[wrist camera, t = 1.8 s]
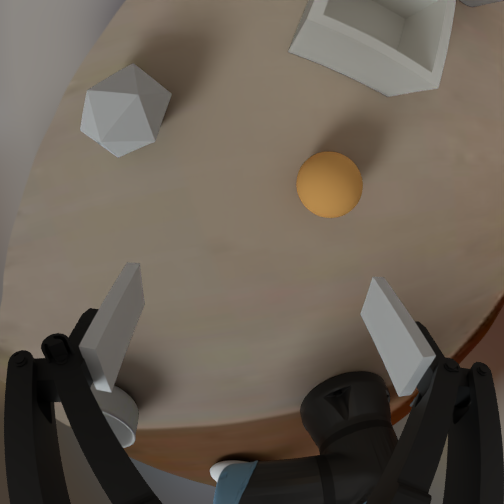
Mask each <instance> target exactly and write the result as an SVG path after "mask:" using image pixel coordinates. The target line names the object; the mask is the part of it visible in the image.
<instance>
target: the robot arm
mask: <svg viewBox="0 0 504 504" xmlns="http://www.w3.org/2000/svg"><path fill="white" fill-rule="evenodd" d="M144 305H145V301H144V294H143V286H142V277H141V268H140V263H128V262H127V264H126V265H125V267H124V268H123V270H122V271H121V273H120V275H119V276H118V278H117V280H116V281H115V283H114V285H113V286H112V288H111V290H110V291H109V293H108V295H107V296H106V298H105V300H104V301H103V303H102V305H101V307H100V308H99V309H92V308H90V309H88V310H87V311H86V312H85V313H83V314H82V316H81V317H80V319H79V321H78V323H77V324H76V326H75V329H73V331H72V333H71V334H70V336H69V338H68V337H67V336H66V335H64V334H59V333H57V334H52V335H50V336H48V337H47V338H46V339H44V340H43V342H42V345H41V349H42V352H43V354H44V356H45V358H39V359H34V358H33V356H32V354H31V353H30V352H28V351H24V350H21V351H18V352H16V353H14V354H13V355H12V356H11V357H10V359H9V362H8V369H7V379H6V391H5V412H4V442H5V443H4V444H5V462H6V474H7V484H8V491H9V498H10V504H71V503H70V499H69V495H68V491H67V486H66V482H65V477H64V472H63V467H62V462H61V456H60V450H59V443H58V437H57V429H56V419H55V409H54V402H61V403H62V405H63V408H64V410H65V413H66V415H67V418H68V420H69V422H70V425H71V427H72V429H73V431H74V434H75V436H76V438H77V440H78V442H79V445H80V447H81V449H82V451H83V453H84V455H85V457H86V459H87V461H88V463H89V464H90V466H91V468H92V470H93V472H94V474H95V476H96V477H97V479H98V481H99V483H100V484H101V486H102V488H103V489H104V491H105V493H106V494H107V496H108V498H109V499H110V501H111V502H112V504H162V503H161V501H160V500H159V499H158V497H157V496H156V495H155V494H154V492H153V491H152V490H151V488H150V487H149V486H148V484H147V483H146V482H145V480H144V479H143V477H142V476H141V474H140V473H139V472H138V470H137V469H136V467H135V466H134V464H133V463H132V462H131V460H130V458H129V457H128V455H127V453H126V452H125V450H124V449H123V447H122V445H121V444H120V442H119V441H118V439H117V437H116V435H115V434H114V432H113V430H112V429H111V427H110V425H109V423H108V422H107V420H106V418H105V416H104V414H103V412H102V410H101V409H100V407H99V405H98V403H97V401H96V399H95V397H94V395H93V393H92V391H91V389H90V388H91V385H92V383H94V385H95V388H96V389H97V390H101V391H106V392H111V393H112V390H113V387H114V384H115V381H116V378H117V375H118V373H119V370H120V367H121V364H122V362H123V359H124V356H125V353H126V351H127V348H128V345H129V343H130V340H131V338H132V335H133V332H134V330H135V327H136V325H137V322H138V320H139V317H140V315H141V312H142V310H143V308H144ZM361 316H362V318H363V320H364V322H365V324H366V327H367V329H368V331H369V333H370V335H371V337H372V339H373V341H374V343H375V345H376V347H377V350H378V352H379V354H380V356H381V358H382V360H383V362H384V365H385V367H386V369H387V371H388V374H389V376H390V378H391V380H392V383H393V385H394V387H395V389H396V392H397V394H398V396H399V397H400V396H406V395H411V394H412V393H413V391H414V390H415V388H416V387H417V388H418V390H419V393H418V395H417V396H416V398H415V399H414V400H413V402H412V403H411V404H410V406H412V405H413V407H412V409H411V412H410V414H409V417H408V419H407V422H406V425H405V427H404V429H403V431H402V434H401V436H400V438H399V440H398V438H397V436H396V433H395V431H394V429H393V427H392V424H391V415H390V405H389V402H390V394H389V391H388V388H387V386H386V384H385V382H384V380H383V379H382V378H381V377H380V376H378V375H376V374H374V373H370V372H351V373H346V374H342V375H339V376H336V377H334V378H331V379H329V380H327V381H325V382H323V383H321V384H320V385H318V386H317V387H316V388H314V389H313V390H312V391H311V392H310V393H309V394H308V395H307V396H306V397H305V399H304V400H303V402H302V404H301V408H300V413H301V418H302V423H303V425H304V427H305V429H306V430H307V431H308V432H309V434H310V435H311V437H312V439H313V440H314V442H315V443H316V445H317V446H318V448H319V451H320V455H317V456H310V457H302V458H294V459H284V460H273V461H254V462H248V463H235V464H230V465H228V466H226V467H225V468H224V469H223V470H222V472H221V473H220V476H219V478H218V482H217V485H216V490H215V495H214V501H213V504H430V502H431V495H429V494H428V492H429V489H430V486H431V483H432V481H433V478H434V475H435V472H436V470H437V467H438V464H439V461H440V458H441V455H442V452H443V448H444V445H445V441H446V438H447V434H448V454H447V469H446V481H445V490H444V498H443V504H504V462H503V446H502V435H501V426H500V419H499V411H498V405H497V399H496V393H495V388H494V383H493V378H492V373H491V370H490V369H489V368H488V366H487V365H485V364H484V363H481V362H476V363H474V364H473V366H472V367H471V369H466V368H460V366H459V364H458V363H457V362H456V361H454V360H453V359H450V358H445V357H444V355H443V354H442V352H441V350H440V349H439V347H438V346H437V344H436V343H435V341H433V338H432V337H431V335H430V333H429V332H428V330H427V329H426V327H424V326H423V325H422V324H421V323H420V322H415V321H414V320H413V318H412V317H411V315H410V314H409V312H408V311H407V309H406V308H405V307H404V305H403V304H402V302H401V301H400V299H399V298H398V296H397V295H396V293H395V292H394V291H393V289H392V288H391V286H390V285H389V283H388V282H387V281H386V279H385V278H384V277H373V278H372V281H371V284H370V287H369V290H368V293H367V296H366V299H365V302H364V305H363V308H362V311H361Z"/></svg>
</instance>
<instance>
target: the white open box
mask: <svg viewBox="0 0 504 504" xmlns="http://www.w3.org/2000/svg"><path fill="white" fill-rule="evenodd" d="M455 4H456V0H308V3H307V5H306V8H305V10H304V13H303V15H302V18H301V20H300V23H299V25H298V28H297V30H296V33H295V35H294V38H293V40H292V43H291V45H290V48H289V51H288V52H289V53H292V54H295V55H297V56H300V57H303V58H305V59H308V60H310V61H313V62H315V63H318V64H320V65H323V66H325V67H327V68H330V69H332V70H334V71H337V72H339V73H341V74H343V75H345V76H348V77H350V78H352V79H354V80H356V81H358V82H360V83H362V84H364V85H366V86H368V87H370V88H372V89H374V90H376V91H378V92H380V93H381V94H383V95H385V96H387V97H391V96H396V95H401V94H407V93H412V92H418V91H424V90H431V89H438V88H439V84H440V80H441V76H442V72H443V68H444V63H445V59H446V54H447V50H448V45H449V40H450V35H451V29H452V23H453V17H454V11H455Z"/></svg>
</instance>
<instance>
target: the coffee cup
mask: <svg viewBox="0 0 504 504" xmlns="http://www.w3.org/2000/svg"><path fill="white" fill-rule="evenodd" d="M460 1H461V2H462V3H464V4H465V5H467V6H470V7H476V6H481V5H485V4H490V3H495V2H500V1H504V0H460Z"/></svg>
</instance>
